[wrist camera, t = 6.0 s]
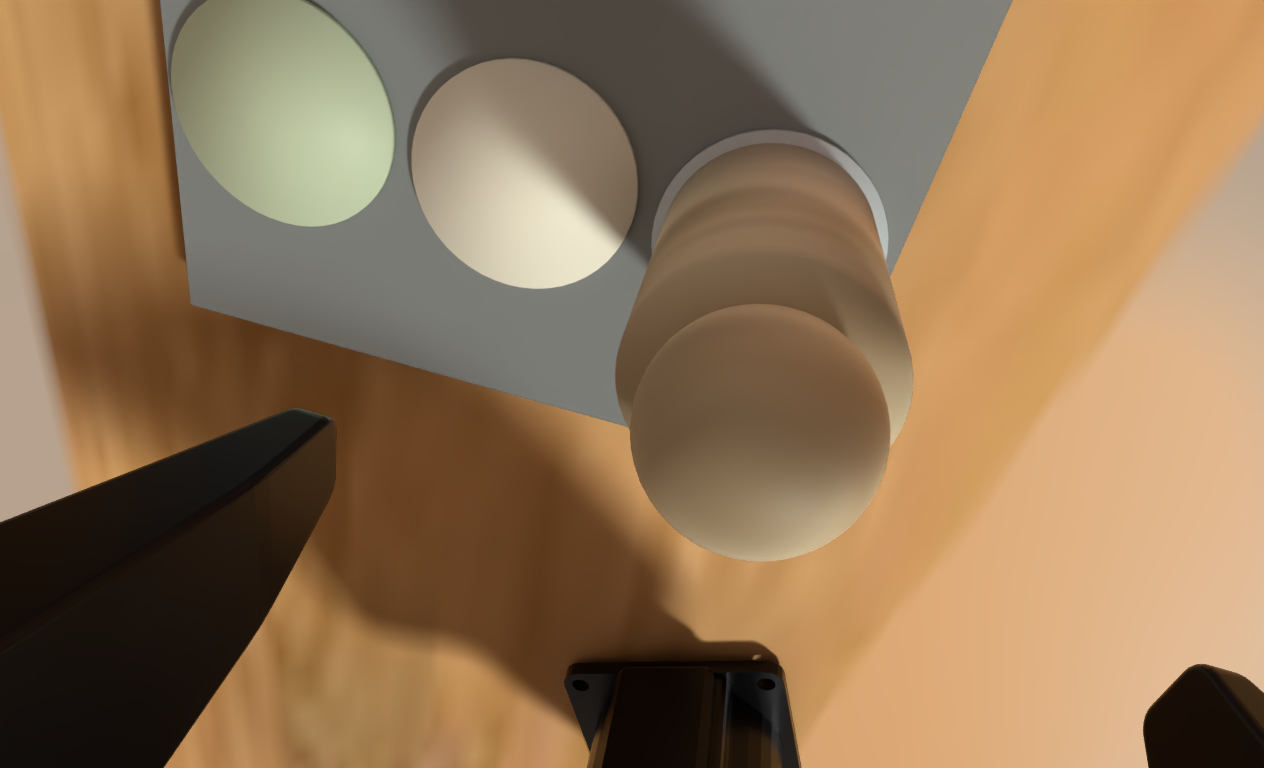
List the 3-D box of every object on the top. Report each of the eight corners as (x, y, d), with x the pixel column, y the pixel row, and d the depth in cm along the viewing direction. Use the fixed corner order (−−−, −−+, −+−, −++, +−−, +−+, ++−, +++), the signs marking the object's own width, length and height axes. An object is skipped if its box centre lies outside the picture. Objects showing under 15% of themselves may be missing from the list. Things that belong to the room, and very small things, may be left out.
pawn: (883, 331, 16) (950, 638, 9) (682, 353, 17) (617, 644, 10) (869, 123, 14) (943, 333, 7) (642, 163, 15) (531, 378, 8)
